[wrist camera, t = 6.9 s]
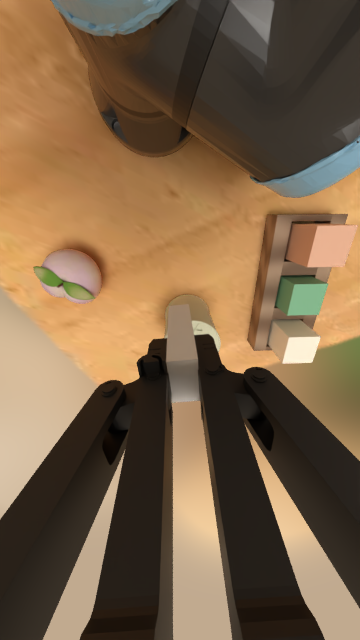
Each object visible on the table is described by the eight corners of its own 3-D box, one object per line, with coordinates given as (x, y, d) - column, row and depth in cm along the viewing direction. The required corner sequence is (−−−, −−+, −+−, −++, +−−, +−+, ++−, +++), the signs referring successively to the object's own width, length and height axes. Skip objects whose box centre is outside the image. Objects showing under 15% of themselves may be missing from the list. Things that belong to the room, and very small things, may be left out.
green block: (274, 273, 39) (294, 284, 33) (303, 272, 40) (328, 283, 33) (269, 300, 42) (287, 315, 36) (296, 299, 42) (318, 314, 36)
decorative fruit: (114, 256, 38) (97, 269, 29) (105, 296, 41) (86, 319, 32) (60, 236, 36) (24, 243, 27) (54, 280, 39) (20, 299, 31)
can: (215, 300, 42) (230, 329, 32) (201, 338, 46) (209, 375, 36) (171, 288, 41) (171, 315, 30) (160, 329, 45) (156, 364, 34)
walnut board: (267, 214, 36) (277, 214, 32) (330, 214, 36) (347, 214, 33) (247, 340, 47) (253, 350, 43) (296, 339, 47) (306, 349, 44)
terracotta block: (290, 223, 34) (317, 225, 28) (323, 223, 34) (358, 225, 28) (283, 258, 36) (307, 267, 30) (314, 257, 36) (344, 266, 30)
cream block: (271, 318, 41) (289, 337, 35) (298, 318, 42) (320, 336, 35) (266, 342, 44) (282, 363, 37) (292, 341, 44) (312, 362, 38)
